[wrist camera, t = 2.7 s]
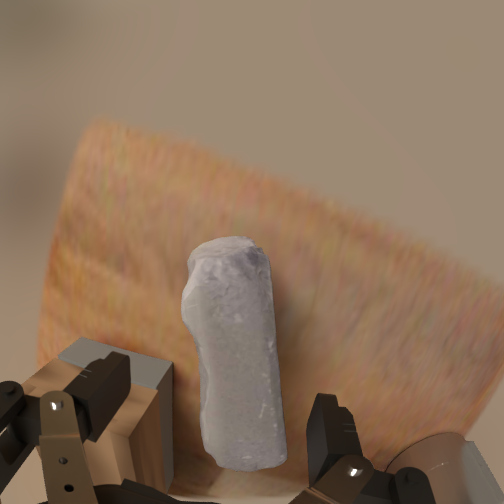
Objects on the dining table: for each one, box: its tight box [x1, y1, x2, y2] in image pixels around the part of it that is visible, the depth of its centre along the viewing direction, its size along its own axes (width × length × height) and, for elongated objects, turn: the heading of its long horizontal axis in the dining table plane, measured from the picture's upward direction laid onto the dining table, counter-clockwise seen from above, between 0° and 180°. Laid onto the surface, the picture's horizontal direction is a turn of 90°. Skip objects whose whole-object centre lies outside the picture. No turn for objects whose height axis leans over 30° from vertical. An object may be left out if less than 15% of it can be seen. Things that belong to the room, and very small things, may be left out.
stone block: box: [181, 236, 288, 472], centre depth 17 cm, size 12×5×10 cm, turn 4°
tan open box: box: [21, 358, 167, 495], centre depth 19 cm, size 9×15×5 cm, turn 173°
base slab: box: [58, 337, 174, 493], centre depth 24 cm, size 8×15×4 cm, turn 173°
